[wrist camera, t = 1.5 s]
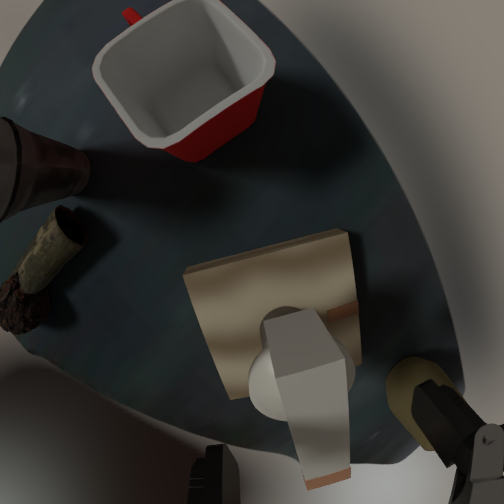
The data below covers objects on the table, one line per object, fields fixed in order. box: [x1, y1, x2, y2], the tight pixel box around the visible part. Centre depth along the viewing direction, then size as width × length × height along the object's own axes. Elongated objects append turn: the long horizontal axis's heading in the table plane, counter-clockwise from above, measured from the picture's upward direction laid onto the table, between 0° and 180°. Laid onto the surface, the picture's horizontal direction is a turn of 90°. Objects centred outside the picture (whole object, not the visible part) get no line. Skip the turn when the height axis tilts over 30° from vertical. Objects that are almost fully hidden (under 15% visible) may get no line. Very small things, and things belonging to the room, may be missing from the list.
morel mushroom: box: [0, 205, 88, 335], centre depth 21 cm, size 18×7×6 cm, turn 126°
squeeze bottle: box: [385, 356, 467, 451], centre depth 21 cm, size 8×8×18 cm
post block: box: [183, 228, 362, 400], centre depth 22 cm, size 14×14×9 cm
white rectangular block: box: [248, 307, 355, 490], centre depth 14 cm, size 11×7×6 cm, turn 14°
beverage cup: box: [0, 117, 91, 223], centre depth 12 cm, size 7×7×20 cm
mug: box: [92, 0, 276, 163], centre depth 16 cm, size 12×8×11 cm
